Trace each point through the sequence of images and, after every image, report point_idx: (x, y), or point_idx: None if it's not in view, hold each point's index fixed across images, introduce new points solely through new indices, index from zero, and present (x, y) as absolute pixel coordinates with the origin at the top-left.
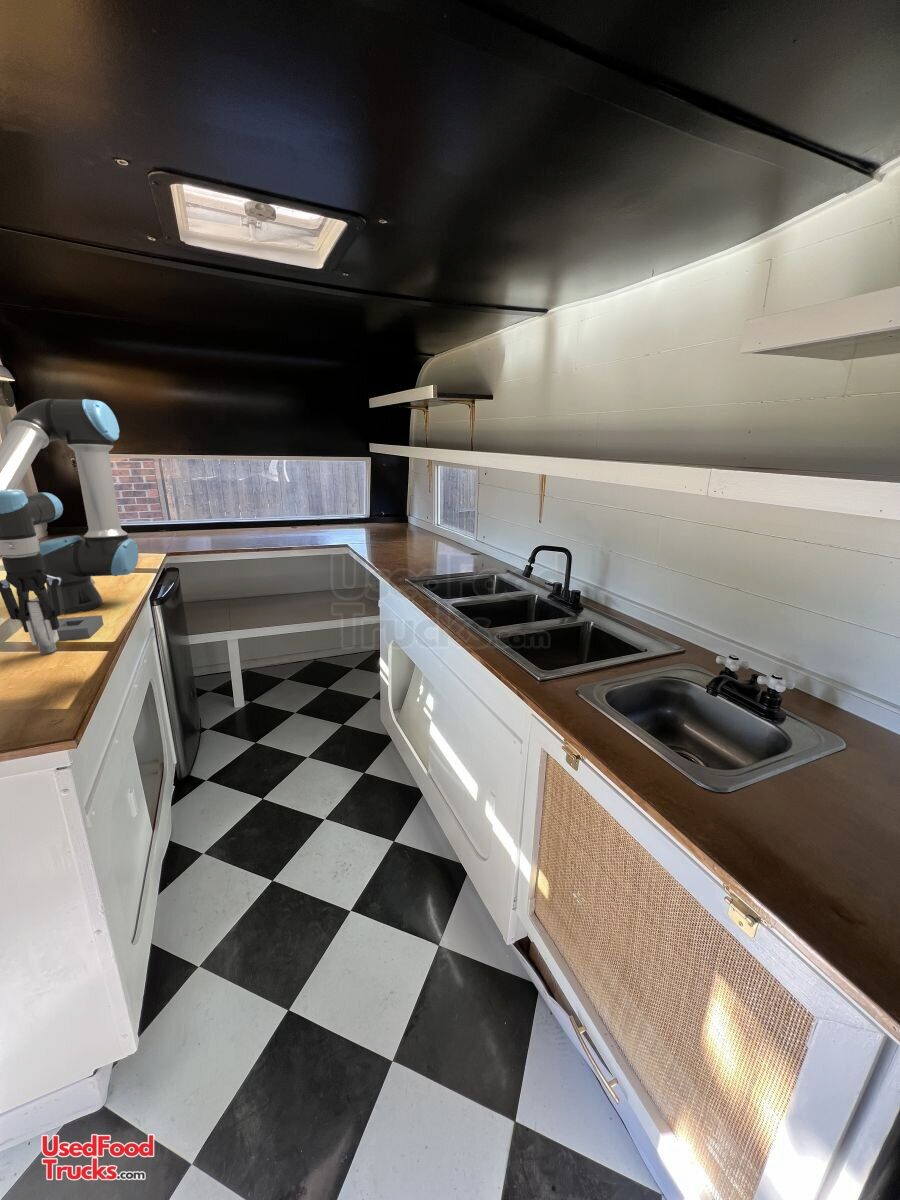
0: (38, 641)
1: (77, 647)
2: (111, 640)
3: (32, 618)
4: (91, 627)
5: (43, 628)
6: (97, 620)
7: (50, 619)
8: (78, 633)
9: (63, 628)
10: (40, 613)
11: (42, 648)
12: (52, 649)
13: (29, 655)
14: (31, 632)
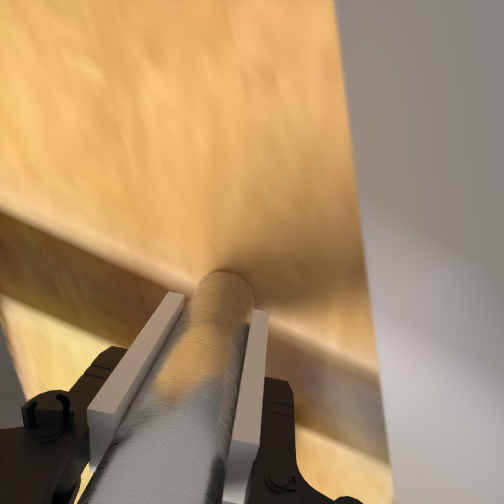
0: (234, 314)
1: (127, 301)
2: (20, 318)
3: (192, 455)
4: None
5: (168, 361)
6: None
7: (50, 392)
8: None
9: None
10: (95, 494)
11: (230, 286)
12: (199, 285)
13: (296, 297)
14: (250, 361)
